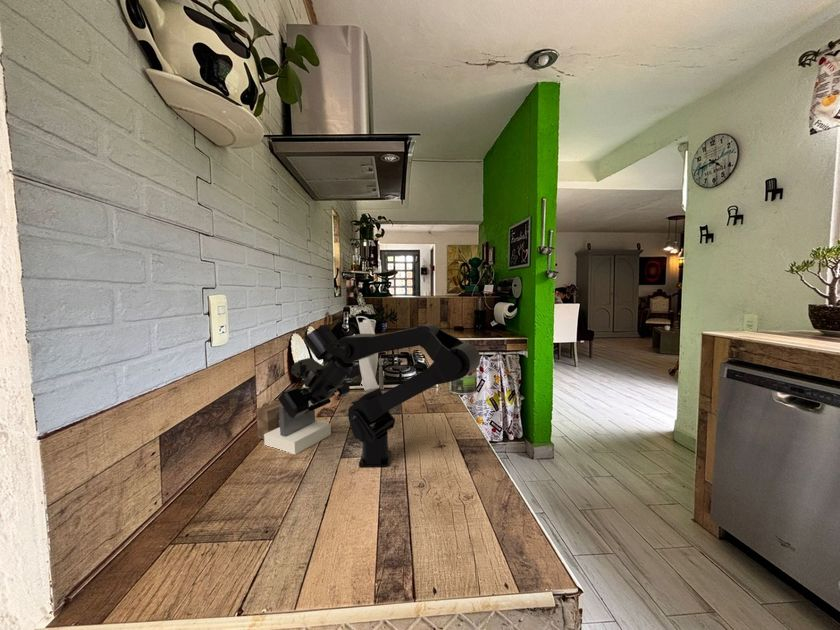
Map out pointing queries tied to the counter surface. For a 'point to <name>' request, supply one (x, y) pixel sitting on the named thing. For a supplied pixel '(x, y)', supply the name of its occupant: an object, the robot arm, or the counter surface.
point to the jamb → (267, 418)
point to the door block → (298, 437)
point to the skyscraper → (369, 360)
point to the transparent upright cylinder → (464, 384)
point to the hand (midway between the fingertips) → (300, 413)
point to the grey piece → (293, 421)
